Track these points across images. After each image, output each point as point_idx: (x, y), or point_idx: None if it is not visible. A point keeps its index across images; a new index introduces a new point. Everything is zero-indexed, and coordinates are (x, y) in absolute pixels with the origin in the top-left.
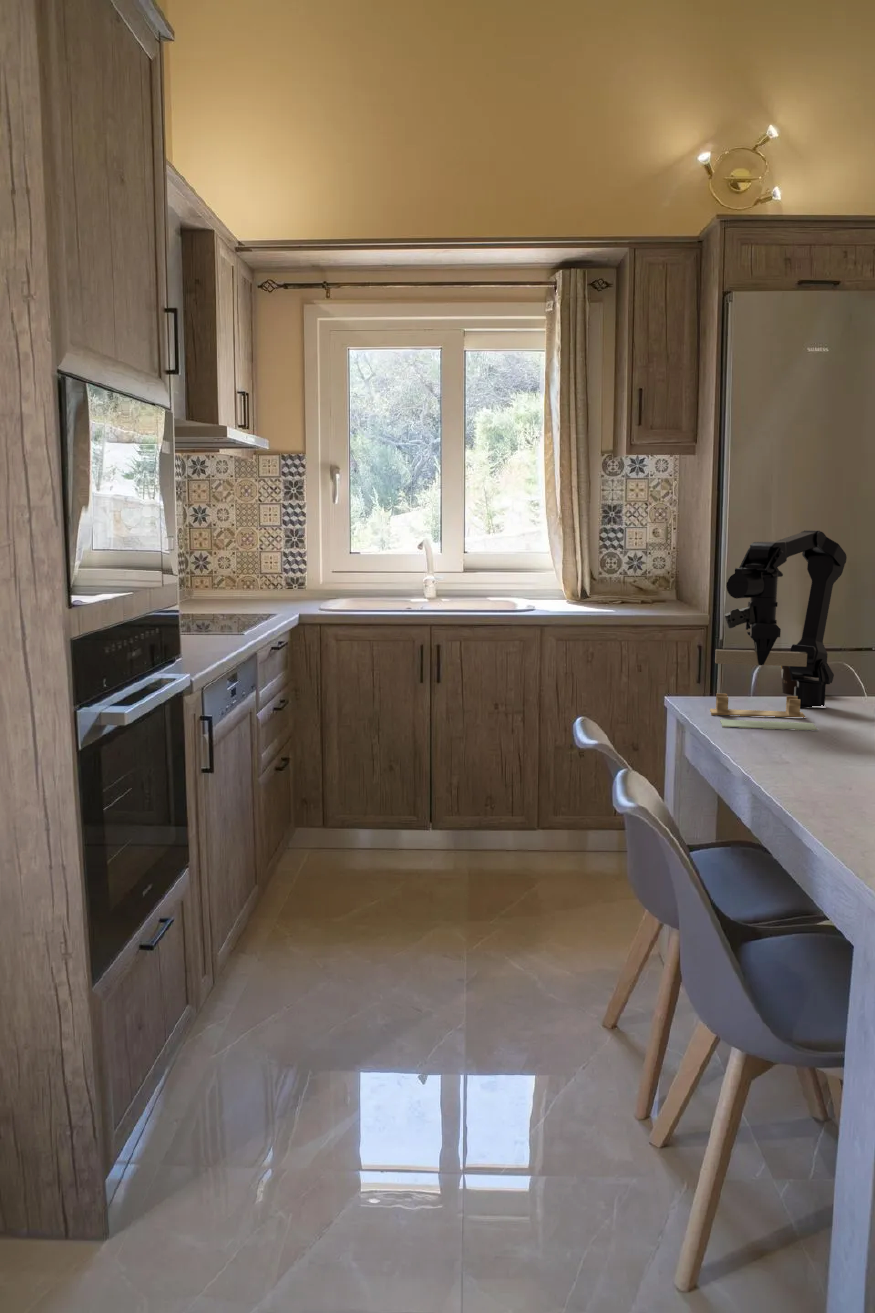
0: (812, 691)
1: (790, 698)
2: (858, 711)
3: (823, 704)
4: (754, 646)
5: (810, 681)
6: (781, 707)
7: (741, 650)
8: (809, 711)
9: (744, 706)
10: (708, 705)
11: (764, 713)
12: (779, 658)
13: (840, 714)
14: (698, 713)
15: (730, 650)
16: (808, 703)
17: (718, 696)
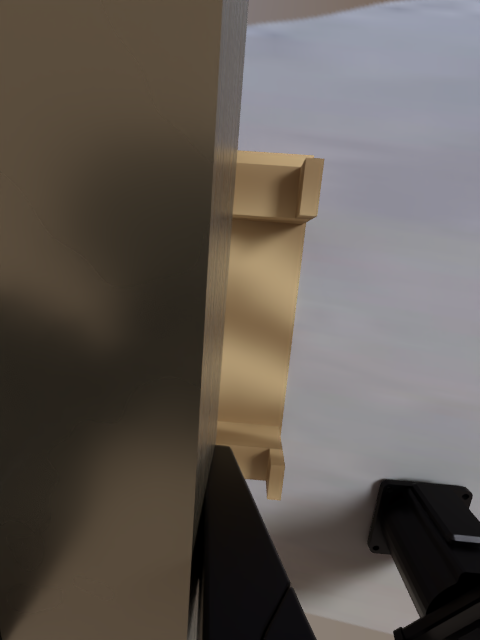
0: (407, 572)
1: (269, 470)
2: (343, 608)
3: (391, 554)
4: (296, 635)
5: (440, 613)
6: (402, 434)
7: (132, 313)
8: (334, 496)
9: (422, 315)
10: (447, 170)
11: (234, 353)
12: None
13: (292, 558)
14: (256, 99)
15: (53, 18)
16: (389, 518)
17: None
